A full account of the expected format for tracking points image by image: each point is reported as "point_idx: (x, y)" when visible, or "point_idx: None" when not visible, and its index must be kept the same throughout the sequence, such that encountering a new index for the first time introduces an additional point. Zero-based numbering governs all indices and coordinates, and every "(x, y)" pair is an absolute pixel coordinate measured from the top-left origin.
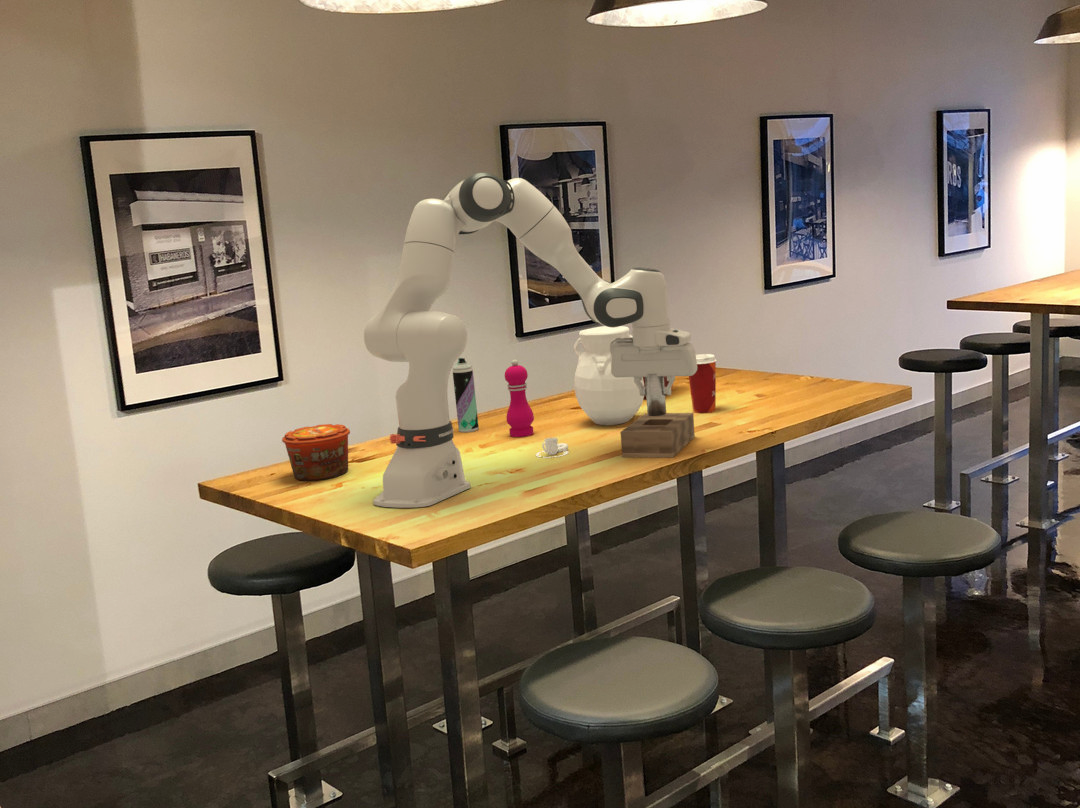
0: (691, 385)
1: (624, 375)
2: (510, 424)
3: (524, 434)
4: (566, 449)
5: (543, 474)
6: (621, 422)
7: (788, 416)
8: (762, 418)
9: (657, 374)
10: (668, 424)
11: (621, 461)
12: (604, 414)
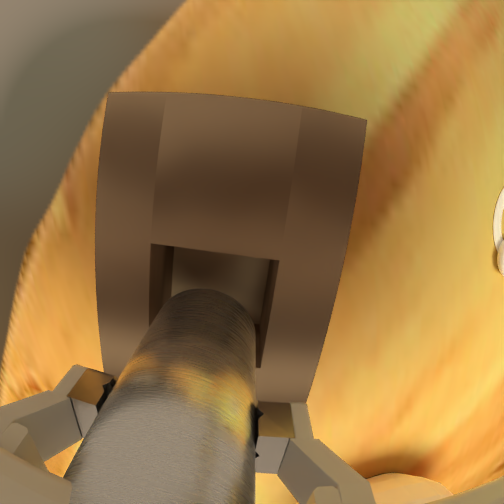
0: None
1: (475, 499)
2: None
3: None
4: (499, 248)
5: (488, 14)
6: None
7: None
8: (64, 464)
9: (61, 496)
10: (144, 253)
11: (326, 77)
12: (401, 481)
